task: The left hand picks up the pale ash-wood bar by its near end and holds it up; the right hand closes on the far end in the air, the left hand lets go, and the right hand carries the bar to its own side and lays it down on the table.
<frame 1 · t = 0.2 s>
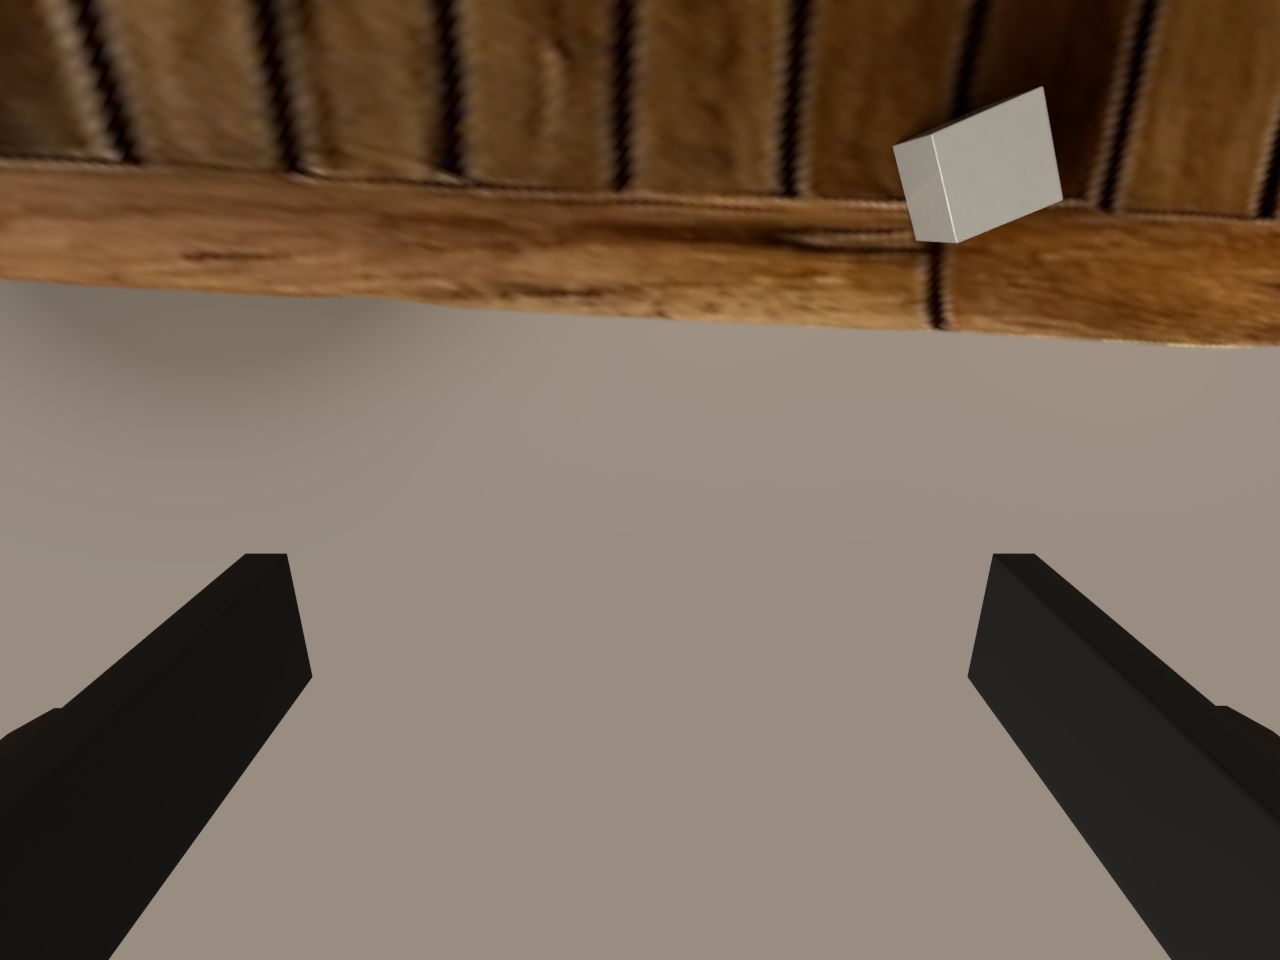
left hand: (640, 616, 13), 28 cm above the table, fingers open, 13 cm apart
grey block: (951, 174, 35), on the table
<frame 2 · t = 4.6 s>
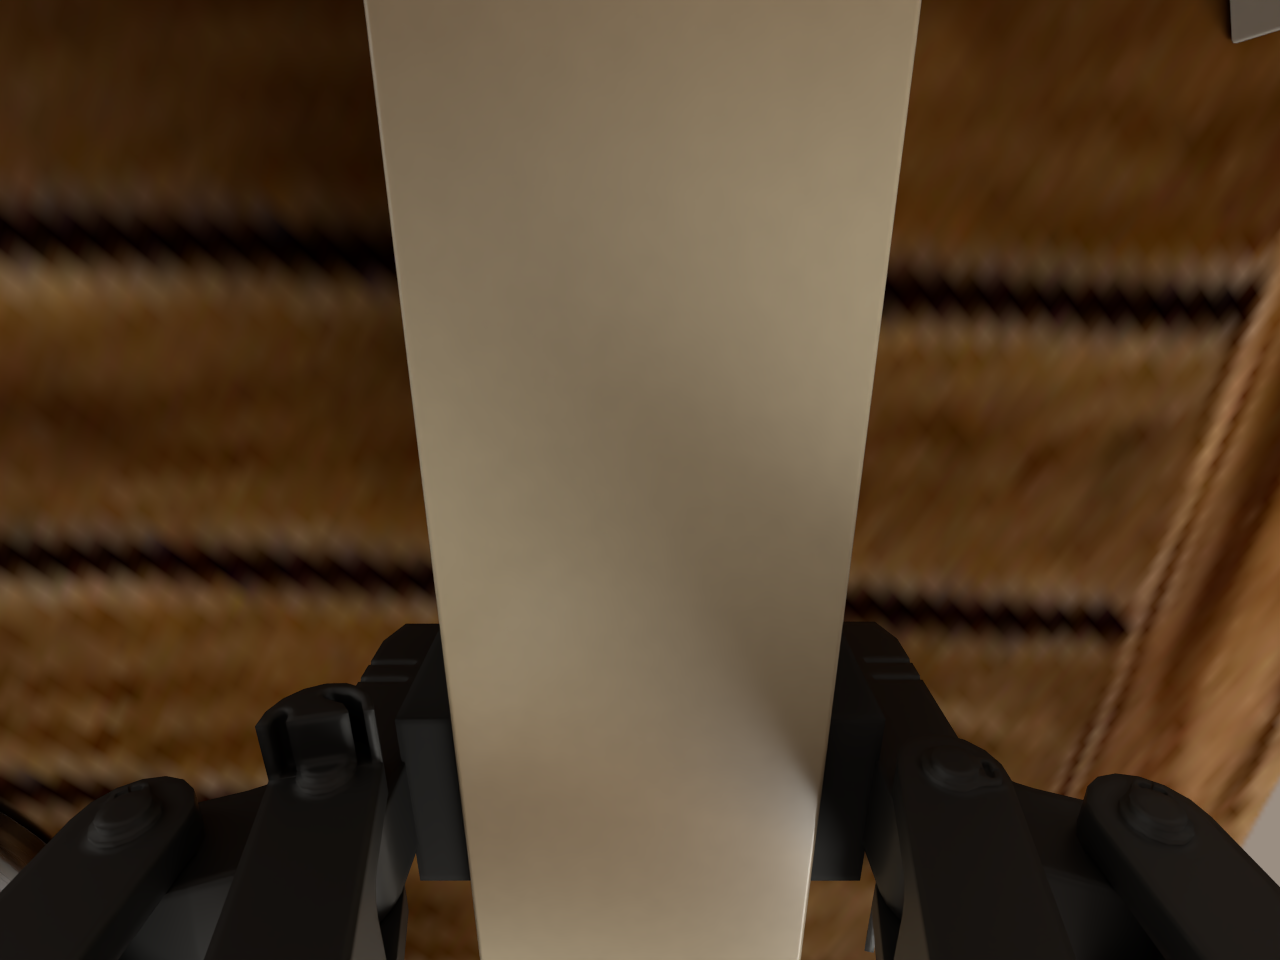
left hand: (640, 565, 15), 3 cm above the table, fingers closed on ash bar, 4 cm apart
ash bar: (640, 66, 12), point 3 cm above the table, touching left hand
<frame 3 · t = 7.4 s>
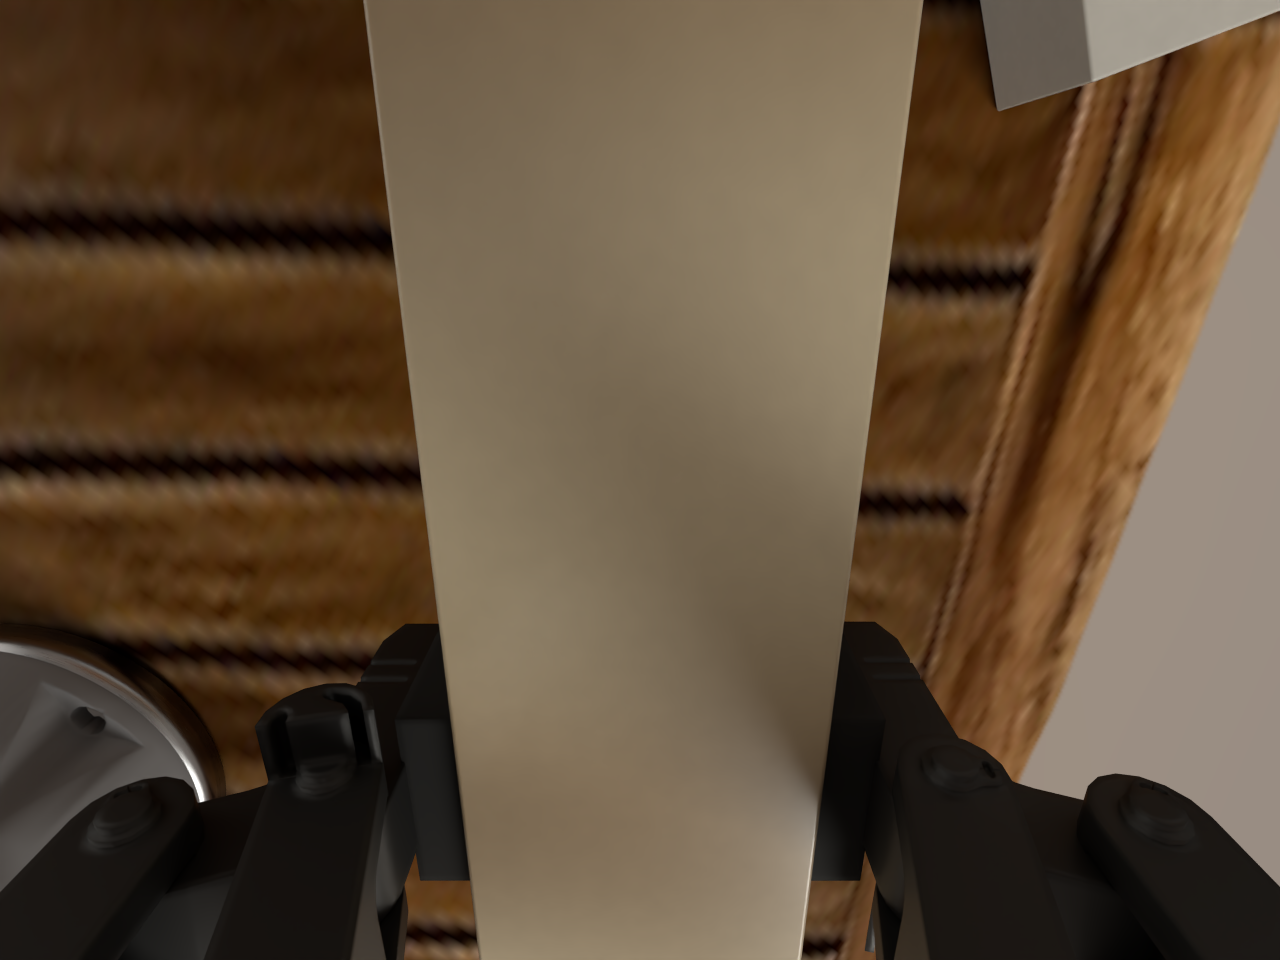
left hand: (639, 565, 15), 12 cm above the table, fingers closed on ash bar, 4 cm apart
ash bar: (640, 65, 12), point 11 cm above the table, touching left hand
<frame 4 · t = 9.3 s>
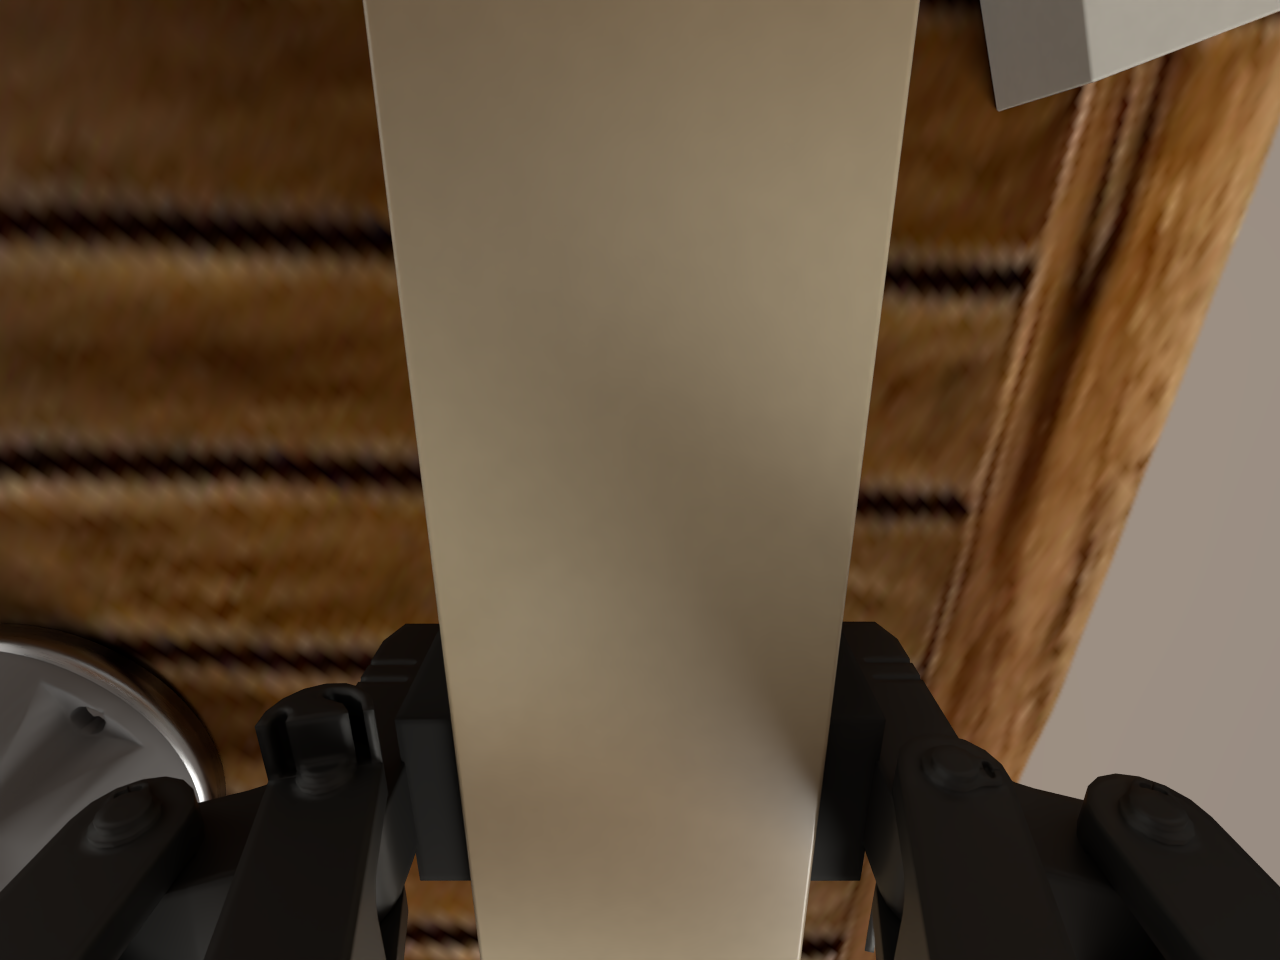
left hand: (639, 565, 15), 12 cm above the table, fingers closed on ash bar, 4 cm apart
ash bar: (640, 66, 12), point 11 cm above the table, touching left hand, right hand
when the left hand's fingers open (12 cm above the table, at t = 10.1 s): ash bar stays where it is, held by the right hand.
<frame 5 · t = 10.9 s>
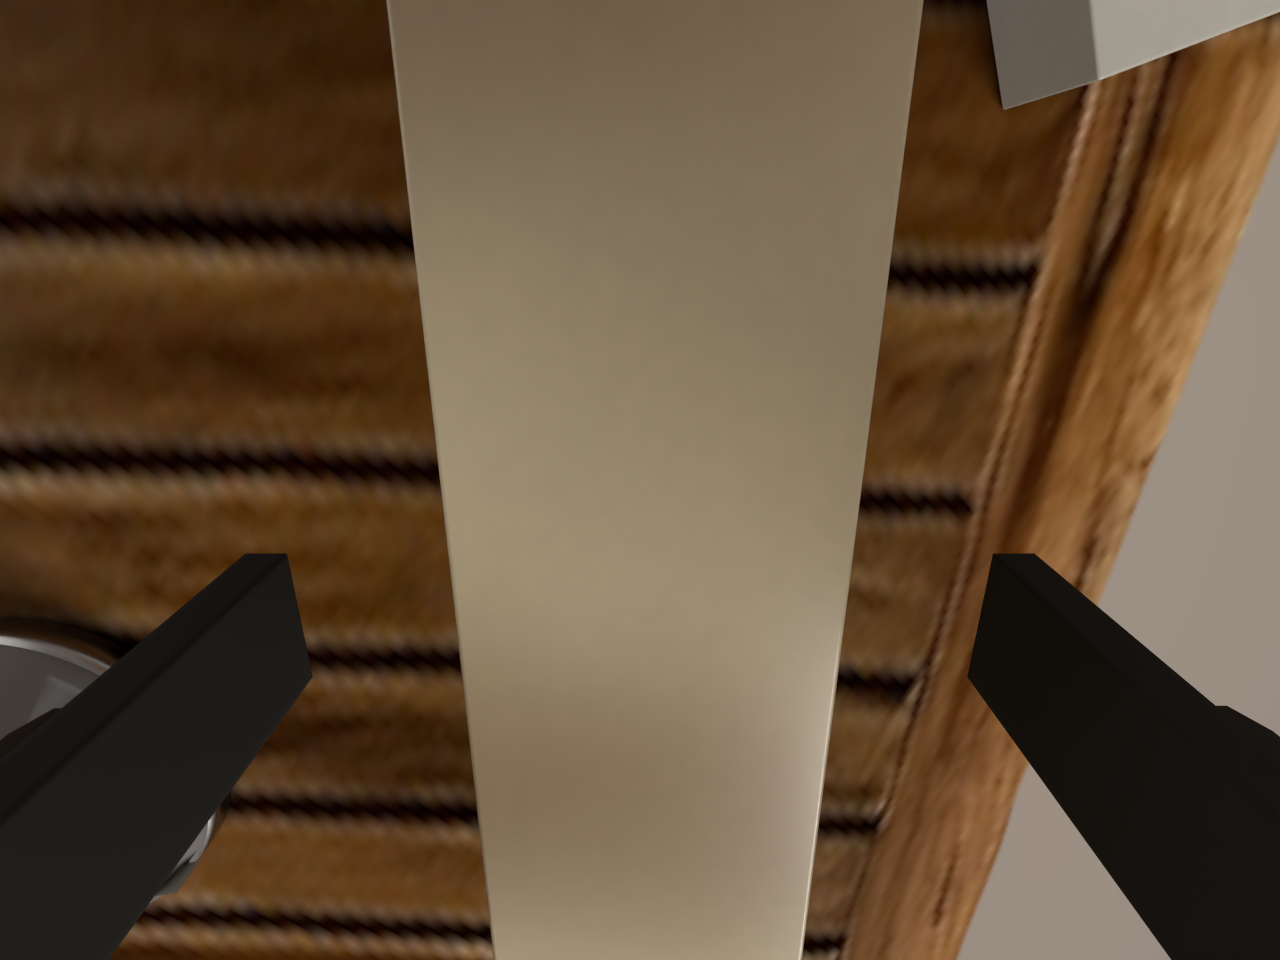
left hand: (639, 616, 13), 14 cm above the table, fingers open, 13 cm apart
ash bar: (647, 59, 12), point 11 cm above the table, touching right hand
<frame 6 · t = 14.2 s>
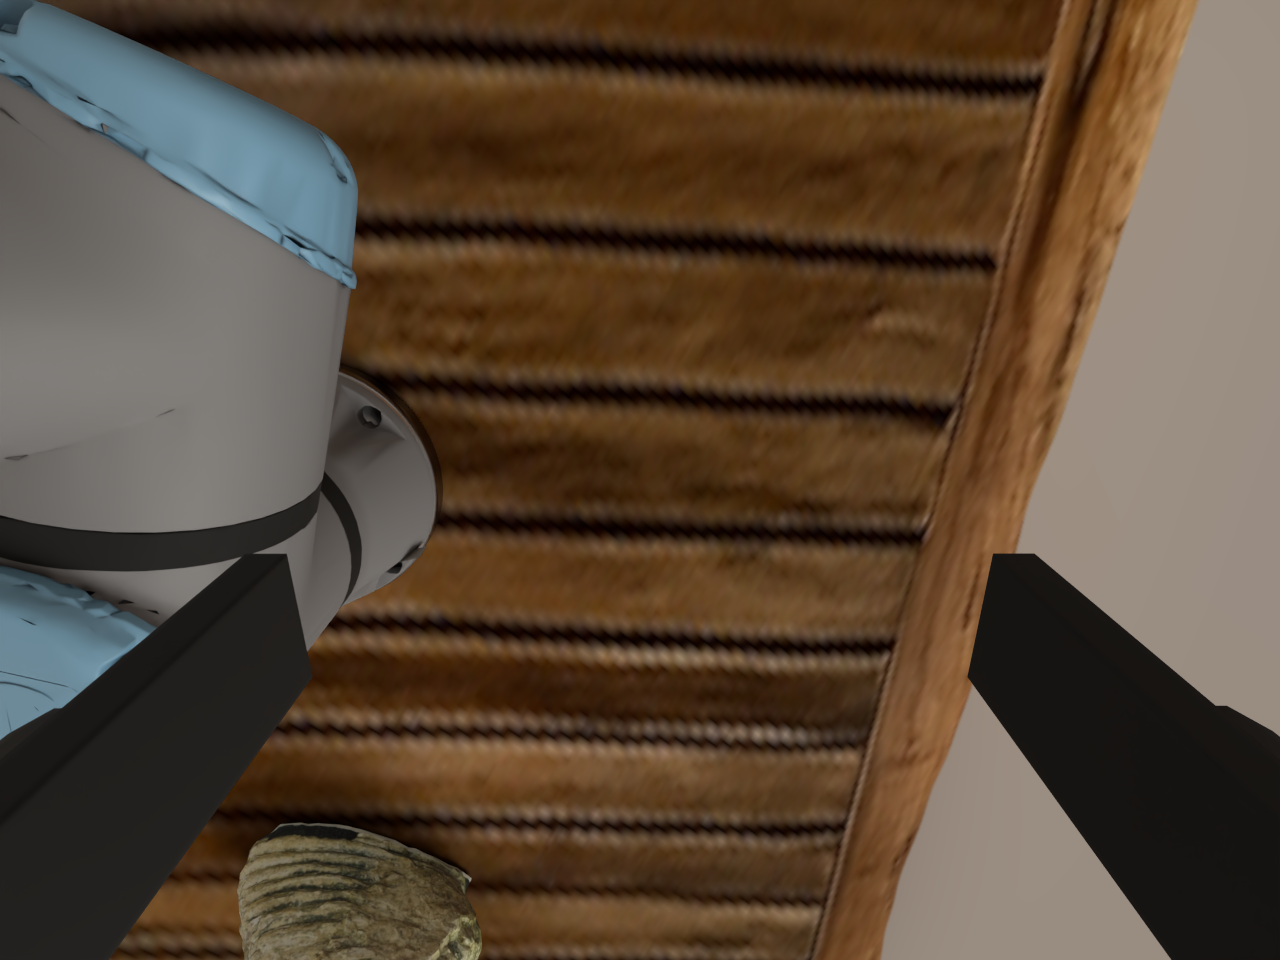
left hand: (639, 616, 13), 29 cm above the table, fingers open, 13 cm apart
fossil: (380, 865, 54), on the table
when the right hand's fingers open (4 cm above the table, at t = 19.4 s): ash bar stays where it is, on the table.
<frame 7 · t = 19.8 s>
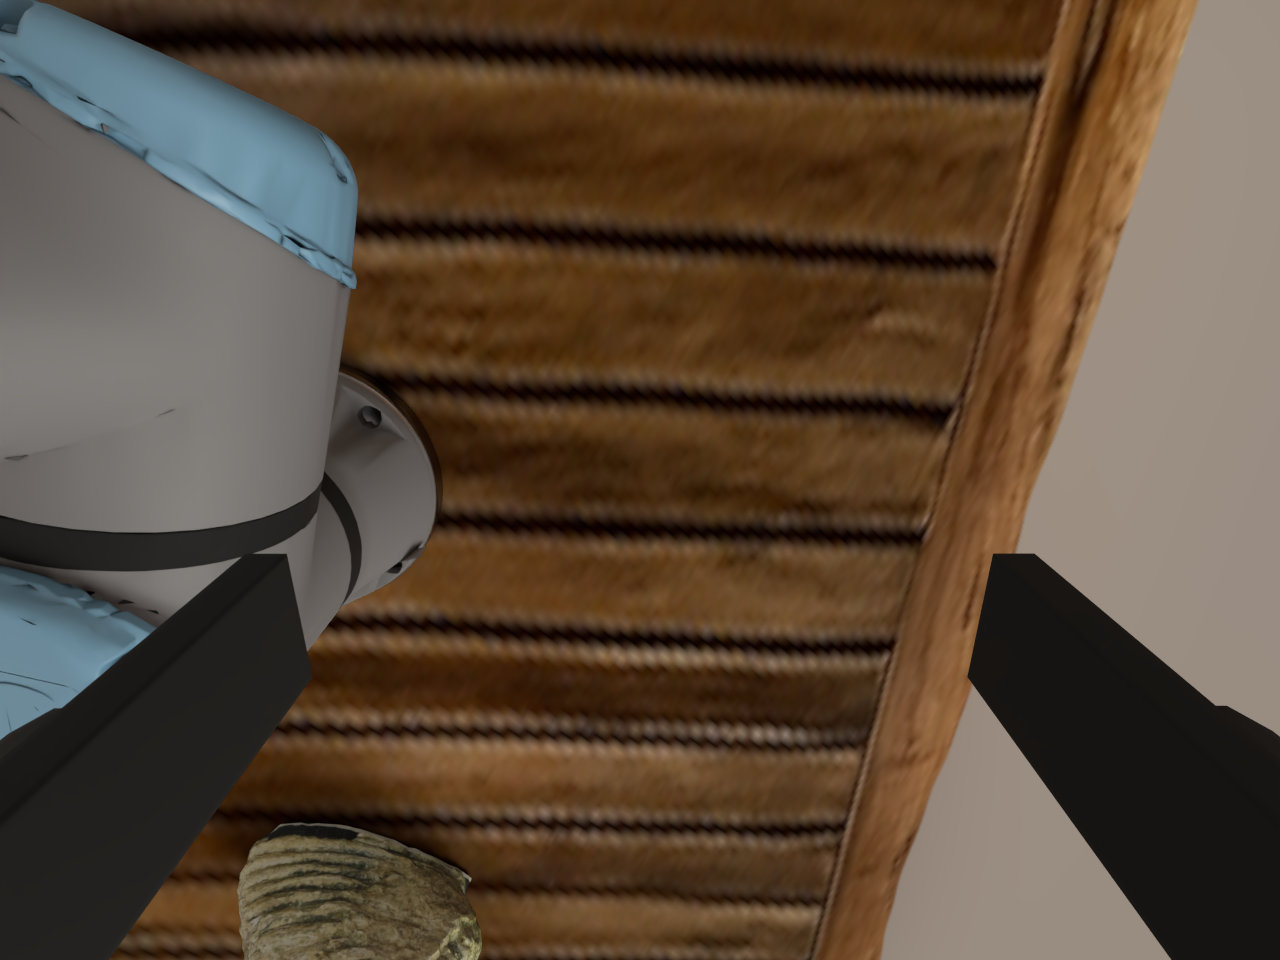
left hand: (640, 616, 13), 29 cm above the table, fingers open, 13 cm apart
fossil: (380, 865, 54), on the table
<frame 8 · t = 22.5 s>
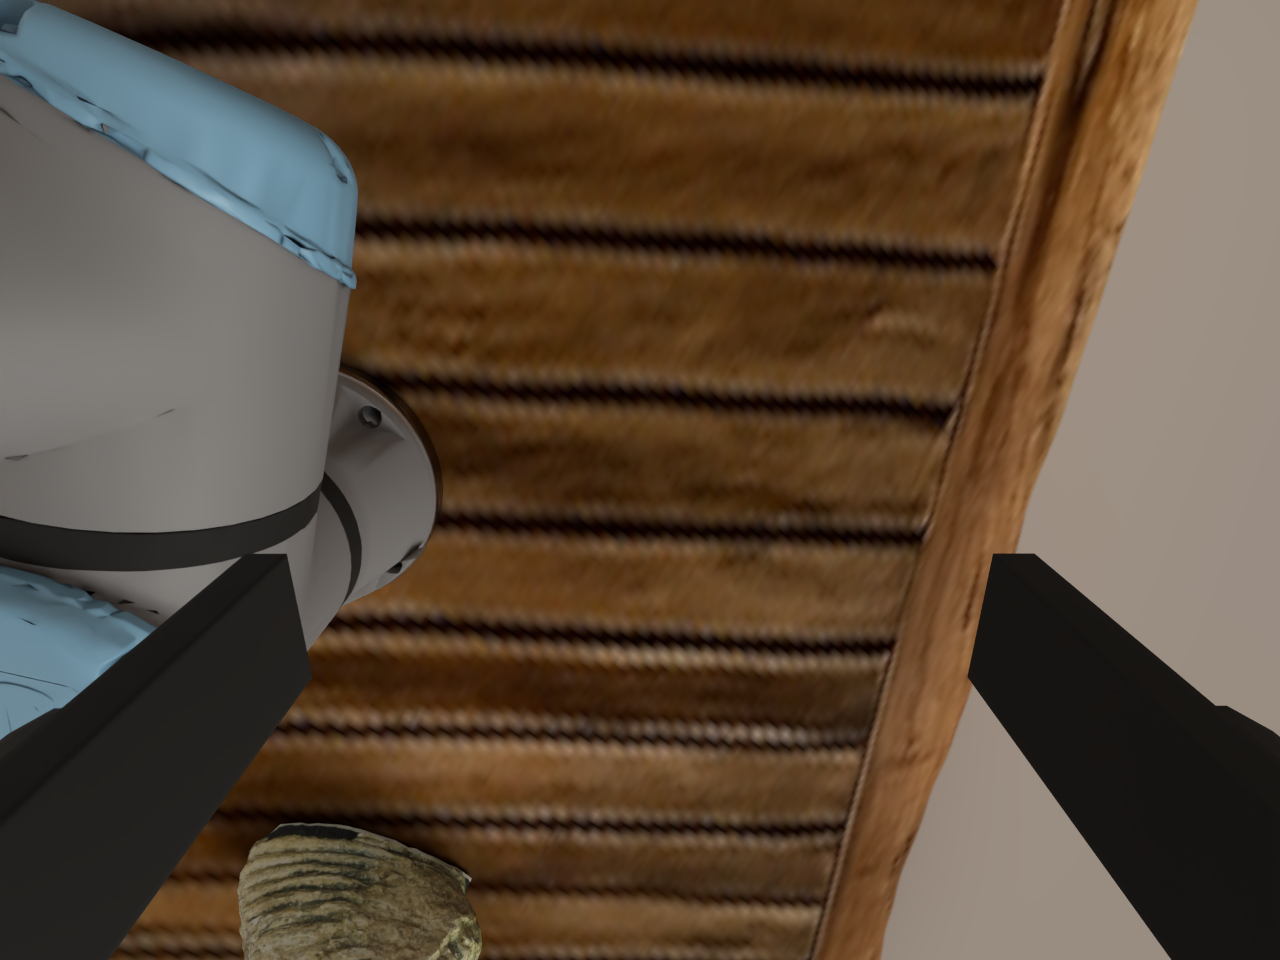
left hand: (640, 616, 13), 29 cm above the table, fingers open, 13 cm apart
fossil: (380, 865, 54), on the table
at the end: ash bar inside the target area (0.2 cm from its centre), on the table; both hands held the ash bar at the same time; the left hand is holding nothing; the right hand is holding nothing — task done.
